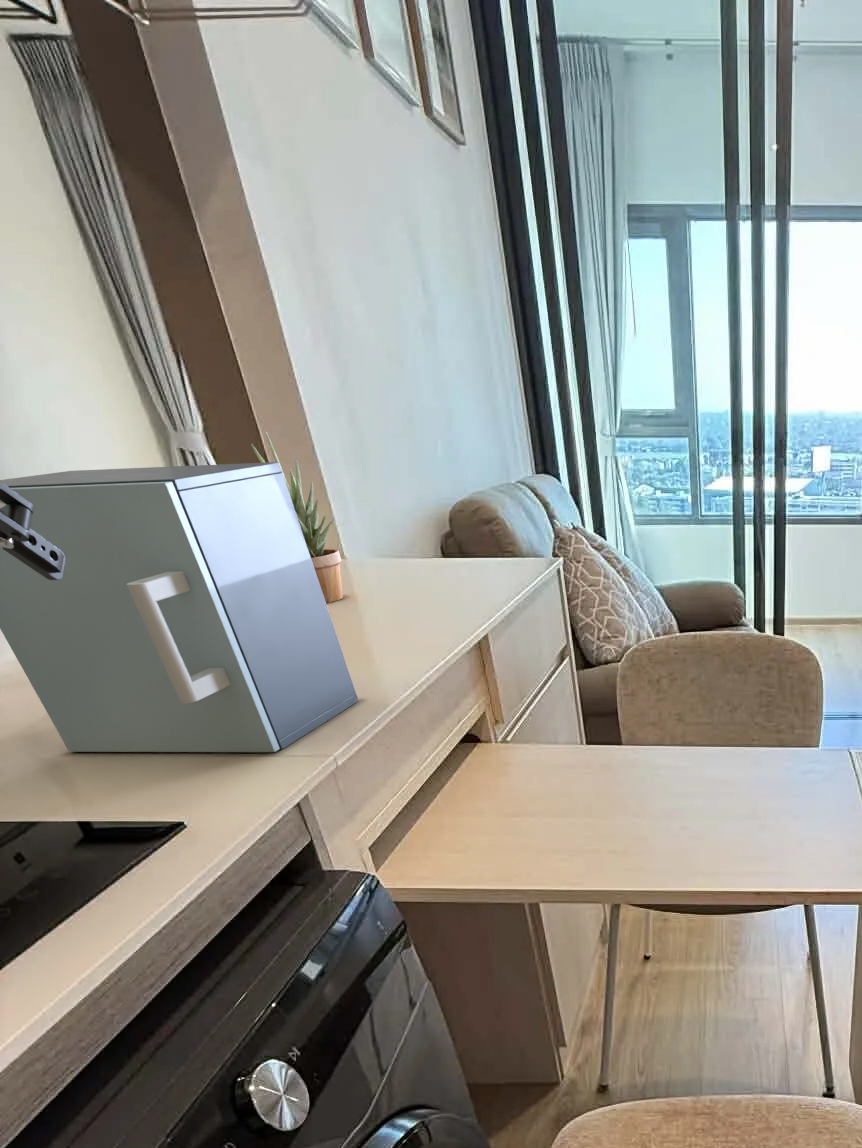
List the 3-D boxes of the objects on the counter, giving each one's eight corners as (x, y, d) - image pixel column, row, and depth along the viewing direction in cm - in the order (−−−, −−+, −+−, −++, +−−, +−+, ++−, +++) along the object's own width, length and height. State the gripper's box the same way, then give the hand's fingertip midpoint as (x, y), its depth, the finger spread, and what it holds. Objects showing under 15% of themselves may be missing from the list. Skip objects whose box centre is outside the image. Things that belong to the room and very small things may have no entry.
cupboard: (282, 749, 88) (173, 479, 73) (78, 749, 90) (-66, 488, 76) (358, 701, 100) (279, 461, 85) (177, 702, 103) (70, 470, 88)
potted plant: (286, 602, 150) (226, 433, 134) (336, 592, 155) (284, 428, 140) (312, 608, 144) (253, 433, 129) (364, 597, 150) (312, 428, 135)
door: (240, 774, 82) (115, 490, 68) (24, 772, 85) (-140, 500, 70) (280, 749, 87) (172, 481, 73) (76, 748, 90) (-67, 491, 76)
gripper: (-410, 444, 46) (-84, 619, 62) (-191, 433, 45) (87, 616, 61) (-381, 323, 47) (-67, 526, 63) (-164, 308, 46) (103, 520, 62)
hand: (8, 570), depth 62 cm, fingers open, 8 cm apart
